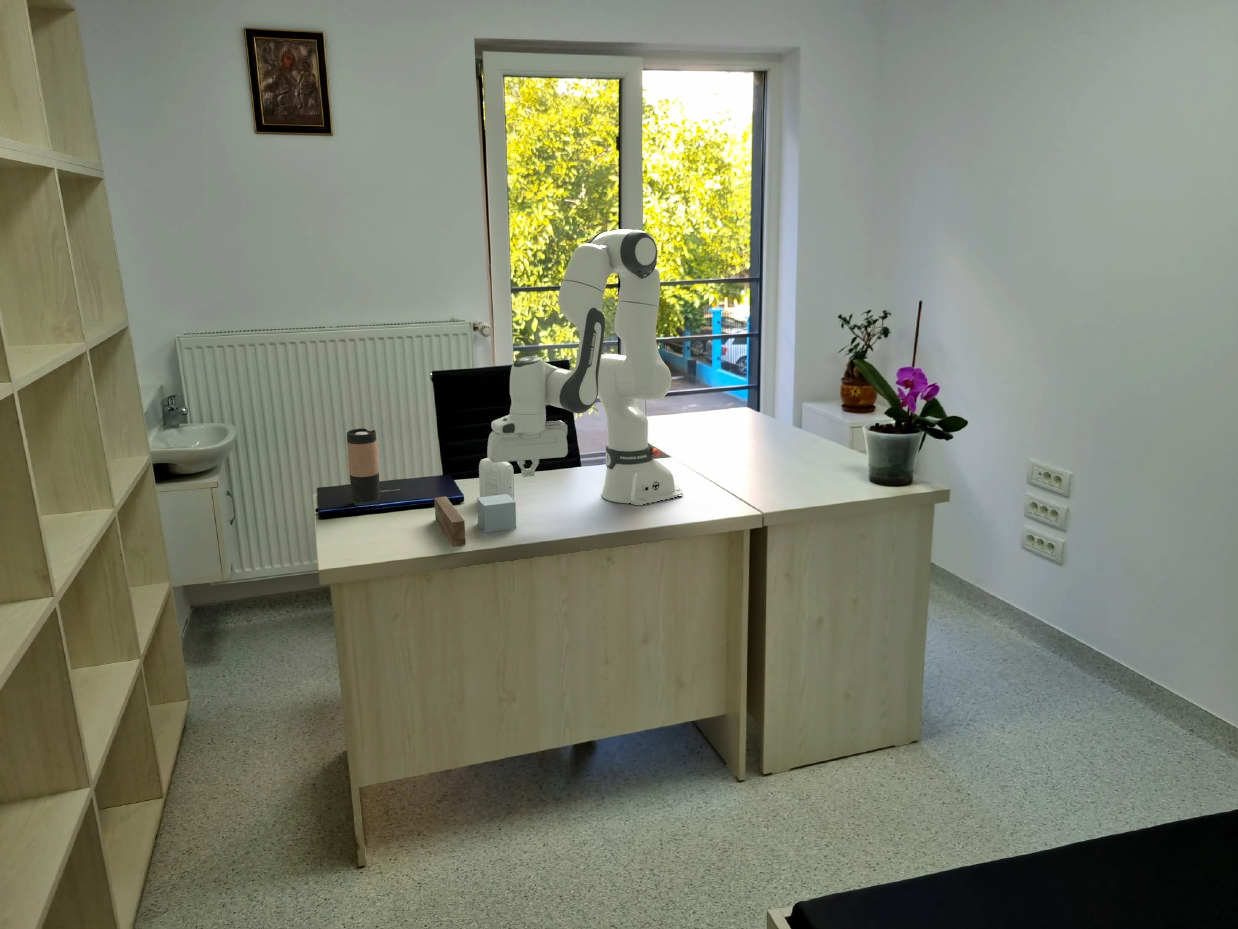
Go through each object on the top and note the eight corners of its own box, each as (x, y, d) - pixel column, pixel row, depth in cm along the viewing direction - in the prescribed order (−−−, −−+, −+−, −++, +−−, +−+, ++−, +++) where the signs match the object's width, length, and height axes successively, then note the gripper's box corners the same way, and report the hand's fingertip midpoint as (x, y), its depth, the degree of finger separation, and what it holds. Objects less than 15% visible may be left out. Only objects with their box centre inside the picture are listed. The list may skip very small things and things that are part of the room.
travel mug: (353, 509, 249) (347, 436, 243) (350, 501, 256) (344, 429, 250) (383, 506, 252) (378, 433, 246) (378, 497, 258) (373, 427, 253)
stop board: (447, 518, 242) (446, 496, 241) (465, 544, 225) (464, 520, 223) (435, 519, 241) (434, 497, 240) (453, 546, 224) (452, 522, 222)
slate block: (508, 519, 242) (507, 493, 240) (516, 528, 236) (515, 501, 234) (478, 523, 239) (477, 497, 237) (485, 532, 233) (484, 505, 231)
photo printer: (516, 503, 254) (515, 459, 251) (506, 507, 251) (505, 463, 247) (488, 496, 260) (486, 453, 256) (477, 501, 256) (475, 457, 253)
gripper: (563, 417, 240) (563, 469, 244) (485, 422, 232) (485, 476, 236) (571, 422, 234) (571, 475, 238) (491, 427, 227) (492, 482, 230)
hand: (528, 476), depth 237 cm, fingers closed
